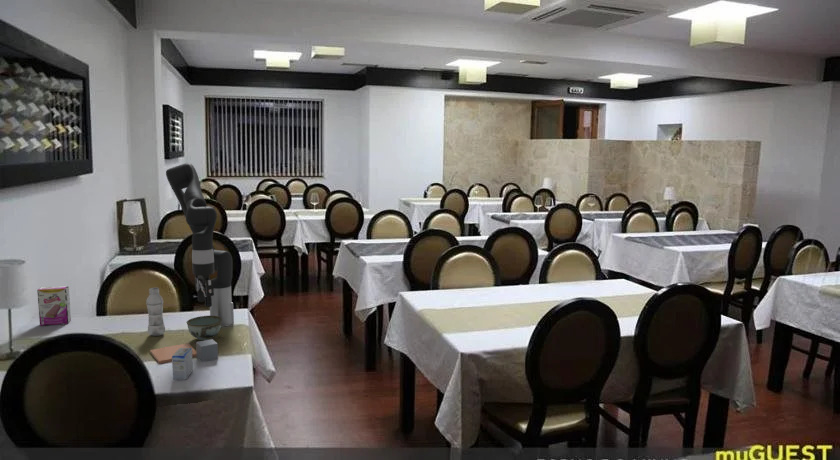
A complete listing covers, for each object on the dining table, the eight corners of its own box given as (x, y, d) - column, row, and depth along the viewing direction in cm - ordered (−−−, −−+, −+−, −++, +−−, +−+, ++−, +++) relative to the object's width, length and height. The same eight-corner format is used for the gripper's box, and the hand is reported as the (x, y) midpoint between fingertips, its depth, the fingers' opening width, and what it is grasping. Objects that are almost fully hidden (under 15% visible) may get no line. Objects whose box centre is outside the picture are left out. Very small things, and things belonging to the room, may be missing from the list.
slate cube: (212, 354, 222) (212, 339, 221) (218, 358, 217) (217, 343, 216) (196, 357, 218) (196, 342, 217) (201, 362, 214) (201, 346, 213)
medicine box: (180, 371, 205) (179, 347, 204) (193, 371, 205) (192, 347, 204) (172, 380, 197) (171, 355, 196) (186, 379, 197) (185, 355, 196)
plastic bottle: (159, 338, 238) (156, 291, 236) (144, 337, 240) (141, 290, 237) (168, 333, 245) (166, 287, 242) (154, 332, 246) (151, 286, 243)
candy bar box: (39, 326, 252) (36, 289, 250) (42, 323, 257) (39, 286, 254) (68, 324, 255) (66, 287, 253) (71, 320, 260) (68, 285, 258)
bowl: (229, 335, 243) (228, 317, 242) (208, 346, 230) (207, 326, 229) (202, 332, 247) (201, 313, 246) (180, 342, 235) (179, 323, 233)
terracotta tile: (188, 345, 231) (187, 343, 231) (198, 355, 220) (198, 353, 220) (150, 352, 222) (150, 350, 222) (159, 363, 211) (159, 361, 211)
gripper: (219, 263, 209) (221, 306, 211) (207, 257, 220) (209, 298, 223) (198, 265, 205) (200, 310, 207) (186, 259, 216) (188, 301, 218)
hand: (204, 304), depth 215 cm, fingers open, 8 cm apart
